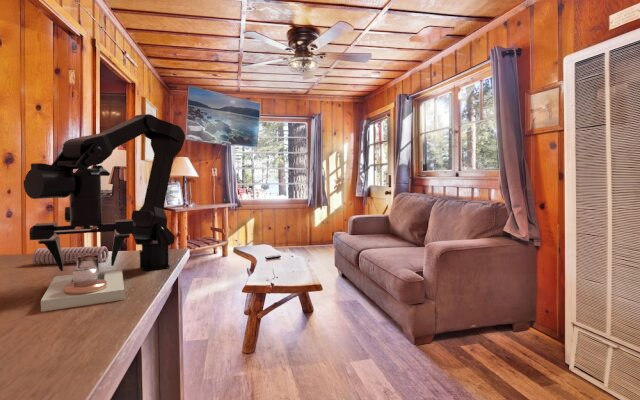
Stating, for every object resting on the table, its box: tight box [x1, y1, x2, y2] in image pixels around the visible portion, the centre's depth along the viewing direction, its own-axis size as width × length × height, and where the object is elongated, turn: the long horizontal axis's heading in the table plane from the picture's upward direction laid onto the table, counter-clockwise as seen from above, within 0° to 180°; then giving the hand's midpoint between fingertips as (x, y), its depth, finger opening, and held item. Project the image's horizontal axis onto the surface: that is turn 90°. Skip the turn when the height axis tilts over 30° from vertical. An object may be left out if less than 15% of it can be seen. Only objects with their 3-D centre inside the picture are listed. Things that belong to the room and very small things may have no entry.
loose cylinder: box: [76, 254, 100, 279], centre depth 77 cm, size 4×4×7 cm
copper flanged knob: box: [64, 267, 107, 295], centre depth 69 cm, size 7×7×4 cm
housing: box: [40, 268, 125, 312], centre depth 74 cm, size 13×18×2 cm
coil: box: [31, 245, 110, 266], centre depth 99 cm, size 5×5×18 cm
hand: (88, 268), depth 77 cm, fingers open, 9 cm apart
